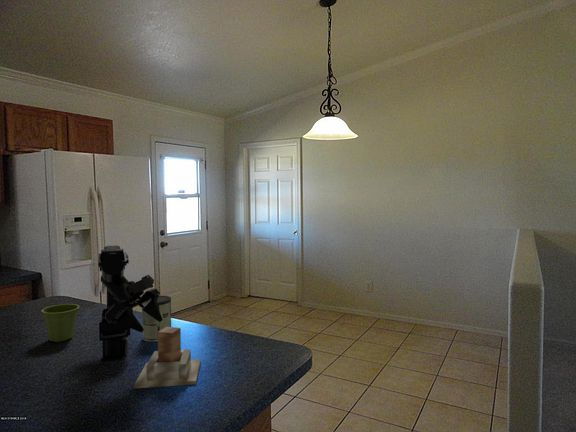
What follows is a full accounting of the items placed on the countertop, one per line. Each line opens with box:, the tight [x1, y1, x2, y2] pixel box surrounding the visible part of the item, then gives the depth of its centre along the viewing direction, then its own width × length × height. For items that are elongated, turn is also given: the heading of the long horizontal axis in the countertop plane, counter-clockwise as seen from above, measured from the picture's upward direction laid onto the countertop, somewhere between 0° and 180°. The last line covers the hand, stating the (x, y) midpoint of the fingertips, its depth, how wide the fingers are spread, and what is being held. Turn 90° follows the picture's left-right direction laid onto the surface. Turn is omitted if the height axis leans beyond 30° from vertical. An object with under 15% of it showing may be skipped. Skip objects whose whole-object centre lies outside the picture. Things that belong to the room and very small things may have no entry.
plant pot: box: [41, 303, 81, 343], centre depth 136 cm, size 12×12×11 cm
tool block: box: [133, 348, 202, 389], centre depth 108 cm, size 16×14×5 cm
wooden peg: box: [157, 326, 182, 363], centre depth 108 cm, size 4×4×12 cm
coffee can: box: [141, 295, 172, 343], centre depth 138 cm, size 10×10×14 cm
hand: (152, 325), depth 109 cm, fingers open, 9 cm apart
